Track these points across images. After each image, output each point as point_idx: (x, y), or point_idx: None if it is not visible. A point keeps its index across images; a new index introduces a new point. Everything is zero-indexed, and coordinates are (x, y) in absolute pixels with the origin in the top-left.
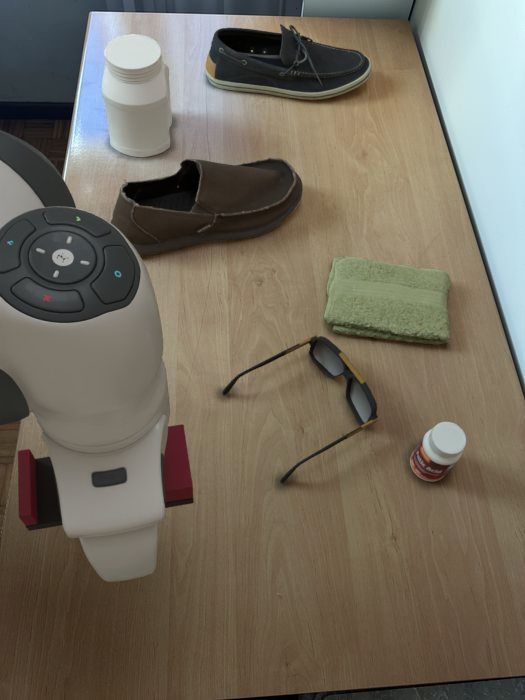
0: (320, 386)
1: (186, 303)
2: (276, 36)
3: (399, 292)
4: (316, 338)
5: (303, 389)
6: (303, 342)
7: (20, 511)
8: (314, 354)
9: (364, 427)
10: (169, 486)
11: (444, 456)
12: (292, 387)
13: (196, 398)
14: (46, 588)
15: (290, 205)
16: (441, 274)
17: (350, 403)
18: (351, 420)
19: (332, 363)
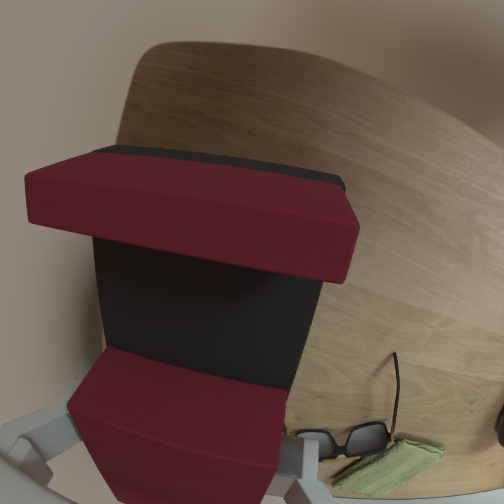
0: (351, 418)
1: (500, 343)
2: None
3: (385, 480)
4: (386, 445)
5: (357, 408)
6: (392, 434)
7: (37, 185)
8: (381, 425)
9: None
10: (115, 490)
11: None
12: (364, 402)
13: (407, 327)
14: (241, 91)
15: (501, 438)
16: (378, 496)
17: (322, 432)
18: (308, 426)
19: (362, 436)
